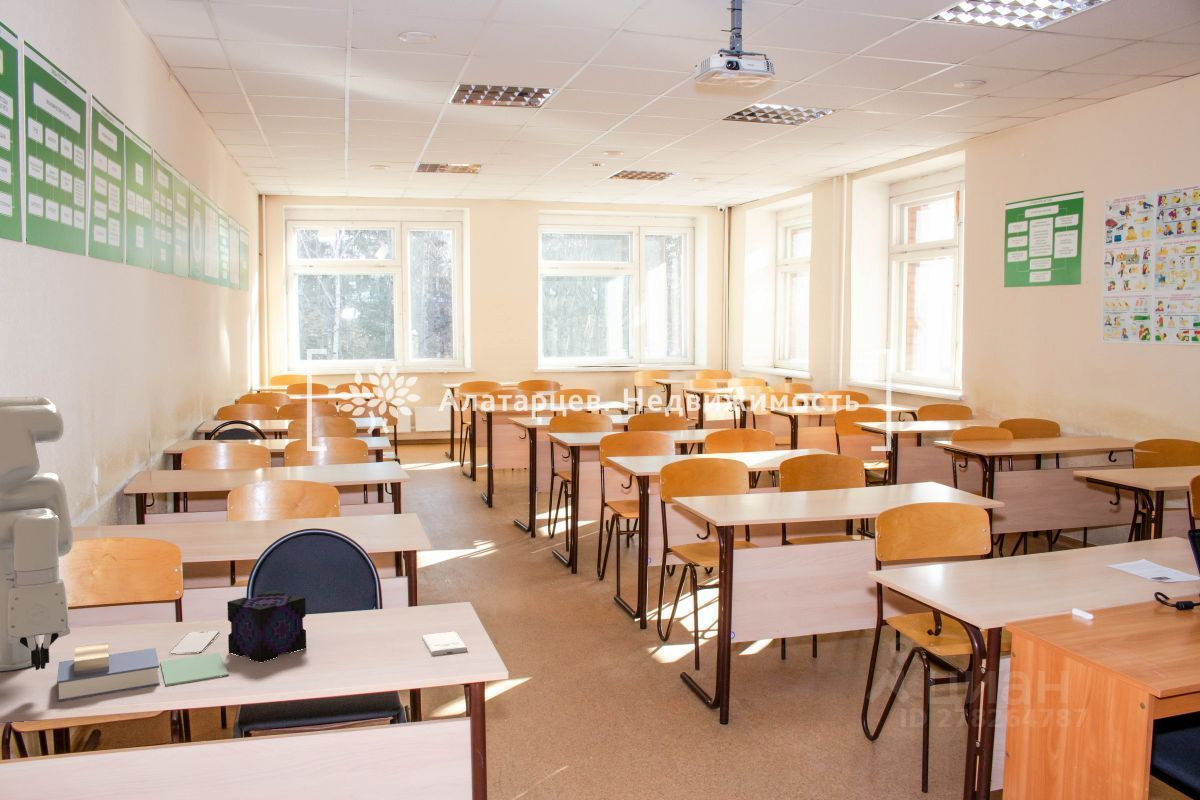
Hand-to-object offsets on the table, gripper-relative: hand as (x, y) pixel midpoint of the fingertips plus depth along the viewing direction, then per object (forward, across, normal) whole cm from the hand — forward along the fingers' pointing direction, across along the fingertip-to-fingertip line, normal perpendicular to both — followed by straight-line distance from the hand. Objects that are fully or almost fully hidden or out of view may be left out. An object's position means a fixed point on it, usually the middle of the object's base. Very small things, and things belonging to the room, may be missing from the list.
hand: (40, 667), depth 179 cm
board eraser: (0, +9, 0) cm, 9 cm away
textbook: (+6, +12, 0) cm, 13 cm away
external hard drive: (+7, +80, -11) cm, 81 cm away
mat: (+6, +28, 0) cm, 28 cm away
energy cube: (+6, +44, +5) cm, 45 cm away
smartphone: (+6, +30, +20) cm, 36 cm away
